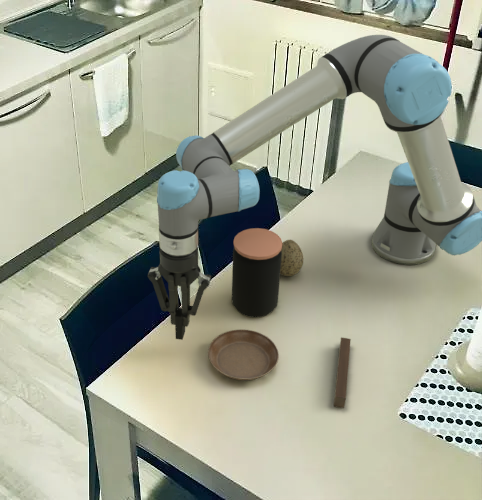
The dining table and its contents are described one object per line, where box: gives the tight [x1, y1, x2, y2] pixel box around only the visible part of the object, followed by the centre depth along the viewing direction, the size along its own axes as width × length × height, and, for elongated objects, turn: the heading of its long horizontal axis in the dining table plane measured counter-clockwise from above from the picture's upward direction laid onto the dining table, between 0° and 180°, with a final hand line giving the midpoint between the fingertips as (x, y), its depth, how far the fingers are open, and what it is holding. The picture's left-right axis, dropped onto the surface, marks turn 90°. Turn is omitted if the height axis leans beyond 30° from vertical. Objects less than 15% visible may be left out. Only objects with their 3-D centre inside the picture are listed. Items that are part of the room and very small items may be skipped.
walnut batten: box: [333, 336, 352, 409], centre depth 148 cm, size 2×17×3 cm, turn 164°
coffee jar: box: [231, 227, 283, 318], centre depth 163 cm, size 11×11×18 cm
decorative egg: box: [280, 239, 305, 277], centre depth 174 cm, size 7×7×10 cm
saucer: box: [207, 329, 279, 381], centre depth 153 cm, size 15×15×3 cm
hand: (180, 335), depth 154 cm, fingers closed
